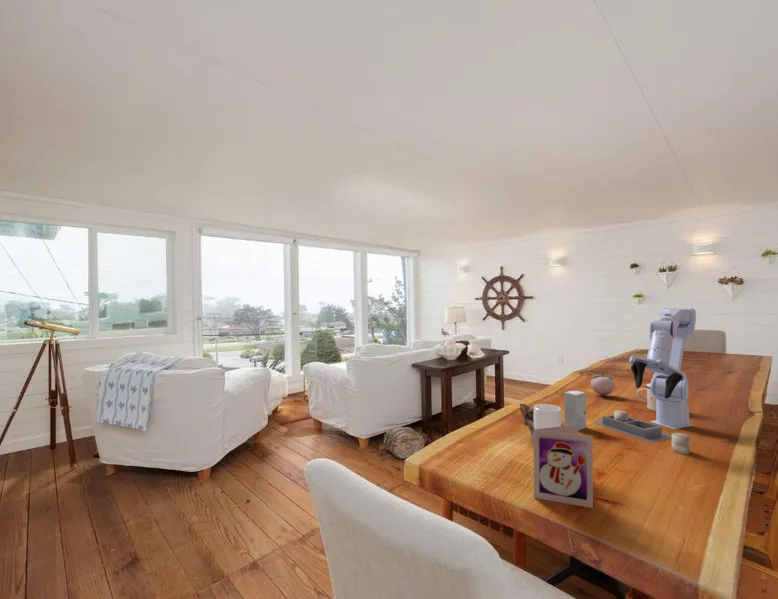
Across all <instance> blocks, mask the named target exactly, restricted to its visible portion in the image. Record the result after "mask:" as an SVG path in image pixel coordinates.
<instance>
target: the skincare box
mask: <svg viewBox="0 0 778 599" xmlns="http://www.w3.org/2000/svg"><path fill="white" fill-rule="evenodd" d="M563 393H564V394H563V397H564V399H563V400H564V405H563V406H564V408H563V409H564V426H570V425H578V431H580V430H584V429H586V428H587V408H586V406H587V405H586V401H587V400H586V392H584V391H580V390H569V391H565V392H563Z"/></svg>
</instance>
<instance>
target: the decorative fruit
mask: <svg viewBox="0 0 778 599" xmlns="http://www.w3.org/2000/svg"><path fill="white" fill-rule="evenodd" d="M590 378H592V379H591V381H590V387H591V388H592V390H593V392H595V393H596V394H598V395H600V396H602V397H605V396H608V395H610V394H611V393H612V392H613V391H614V390H615V385H616V384H615V380H616V379H615V378H614V377H612V376H610V375H604V373H602V375H599V374H595V375H592V376H591V377H590Z"/></svg>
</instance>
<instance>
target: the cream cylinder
mask: <svg viewBox="0 0 778 599" xmlns="http://www.w3.org/2000/svg"><path fill="white" fill-rule="evenodd" d="M671 435H672V438H671V449H672V450H674V451H675V452H674V453H676V452H678V453H677V454H680V453H682V455H690V448H691V447H690V442H691V441H690V435H687V434H684V433H681V432H672V433H671Z"/></svg>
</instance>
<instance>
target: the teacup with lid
mask: <svg viewBox="0 0 778 599" xmlns="http://www.w3.org/2000/svg"><path fill="white" fill-rule="evenodd" d="M650 385H651V382H650V383H646V386H645V387H646V388H644V387H643V388H638V390H637V392H636V394H637V397H638V399H639V400H641V401H643V402H646V408H647V409H648V410H650V411H653V412H656V398H655V396H654V395H653V394H652V393H651V389H650ZM641 391H645V392H646V399H645V398H643V397H641V394H640V392H641Z"/></svg>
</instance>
